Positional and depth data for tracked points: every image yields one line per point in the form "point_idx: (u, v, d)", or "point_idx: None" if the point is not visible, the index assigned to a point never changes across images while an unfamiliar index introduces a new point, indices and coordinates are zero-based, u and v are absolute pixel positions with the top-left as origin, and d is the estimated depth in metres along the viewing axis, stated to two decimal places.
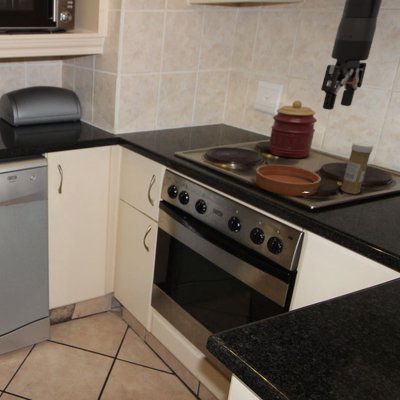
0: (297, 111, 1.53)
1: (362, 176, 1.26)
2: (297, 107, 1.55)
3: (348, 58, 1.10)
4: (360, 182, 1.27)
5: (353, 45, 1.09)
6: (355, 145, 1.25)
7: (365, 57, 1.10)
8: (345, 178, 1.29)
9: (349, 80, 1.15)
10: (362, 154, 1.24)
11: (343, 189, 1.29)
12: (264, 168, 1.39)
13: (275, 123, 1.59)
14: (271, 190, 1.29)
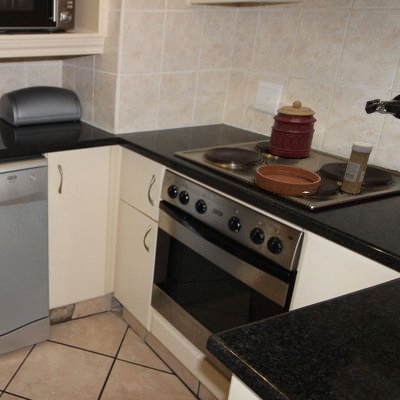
0: (297, 111, 1.53)
1: (362, 176, 1.26)
2: (297, 107, 1.55)
3: (392, 99, 1.36)
4: (360, 182, 1.27)
5: None
6: (355, 145, 1.25)
7: None
8: (345, 178, 1.29)
9: None
10: (362, 154, 1.24)
11: (343, 189, 1.29)
12: (264, 168, 1.39)
13: (275, 123, 1.59)
14: (271, 190, 1.29)
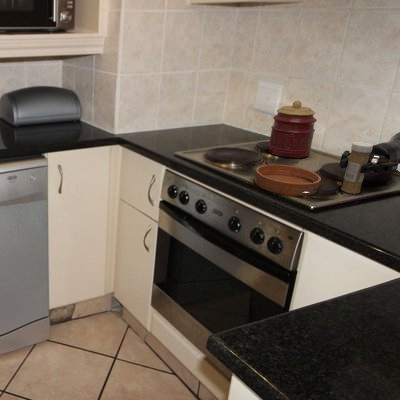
0: (297, 111, 1.53)
1: (362, 176, 1.26)
2: (297, 107, 1.55)
3: None
4: (360, 182, 1.27)
5: None
6: (355, 145, 1.25)
7: (377, 145, 1.31)
8: (345, 178, 1.29)
9: (369, 159, 1.29)
10: (362, 154, 1.24)
11: (343, 189, 1.29)
12: (264, 168, 1.39)
13: (275, 123, 1.59)
14: (271, 190, 1.29)
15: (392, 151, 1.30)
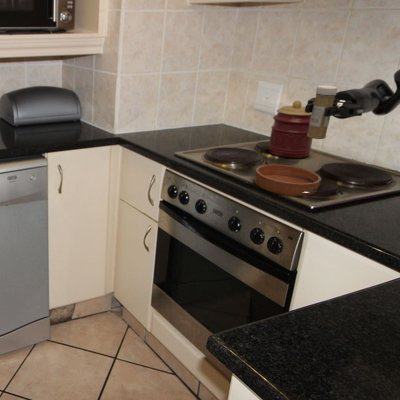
0: (297, 111, 1.53)
1: (327, 120, 1.23)
2: (297, 107, 1.55)
3: None
4: (325, 127, 1.24)
5: None
6: (319, 88, 1.22)
7: (344, 91, 1.28)
8: (310, 123, 1.26)
9: (335, 103, 1.26)
10: (326, 96, 1.21)
11: (308, 135, 1.27)
12: (264, 168, 1.39)
13: (275, 123, 1.59)
14: (271, 190, 1.29)
15: (359, 96, 1.27)
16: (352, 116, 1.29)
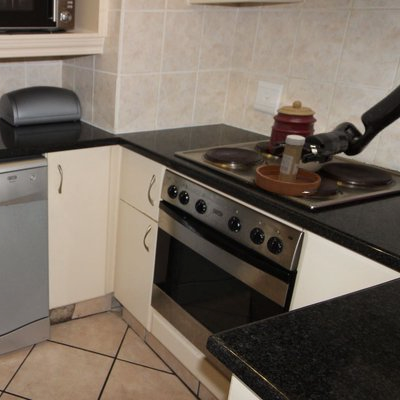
0: (297, 111, 1.53)
1: (296, 168, 1.30)
2: (297, 107, 1.55)
3: None
4: (294, 174, 1.30)
5: None
6: (288, 138, 1.28)
7: (314, 135, 1.34)
8: (280, 170, 1.32)
9: (304, 148, 1.31)
10: (294, 146, 1.27)
11: None
12: (264, 168, 1.39)
13: (275, 123, 1.59)
14: (271, 190, 1.29)
15: (328, 141, 1.33)
16: None
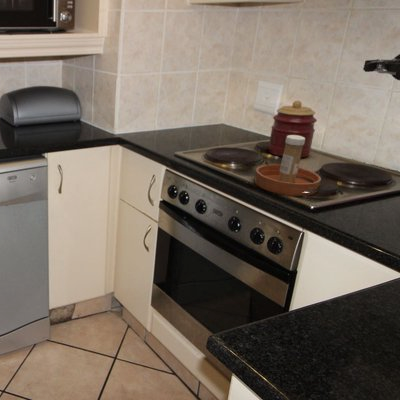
0: (297, 111, 1.53)
1: (296, 168, 1.30)
2: (297, 107, 1.55)
3: None
4: (294, 174, 1.30)
5: None
6: (288, 138, 1.28)
7: None
8: (280, 170, 1.32)
9: None
10: (294, 146, 1.27)
11: None
12: (264, 168, 1.39)
13: (275, 123, 1.59)
14: (271, 190, 1.29)
15: None
16: None
